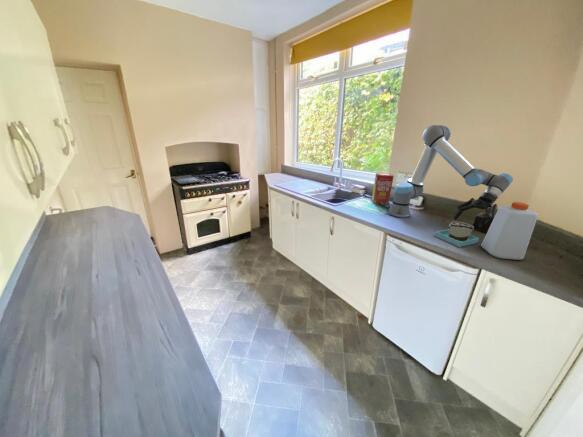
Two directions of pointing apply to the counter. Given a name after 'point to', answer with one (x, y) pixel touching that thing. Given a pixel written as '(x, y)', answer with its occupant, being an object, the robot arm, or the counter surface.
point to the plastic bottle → (510, 231)
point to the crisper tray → (445, 234)
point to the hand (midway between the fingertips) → (466, 222)
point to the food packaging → (382, 188)
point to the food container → (460, 230)
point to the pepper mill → (479, 218)
